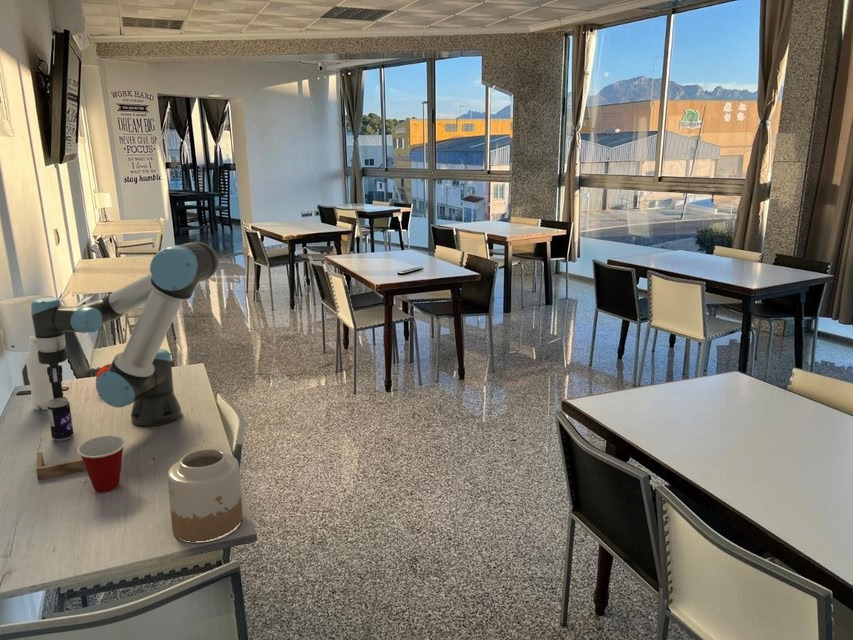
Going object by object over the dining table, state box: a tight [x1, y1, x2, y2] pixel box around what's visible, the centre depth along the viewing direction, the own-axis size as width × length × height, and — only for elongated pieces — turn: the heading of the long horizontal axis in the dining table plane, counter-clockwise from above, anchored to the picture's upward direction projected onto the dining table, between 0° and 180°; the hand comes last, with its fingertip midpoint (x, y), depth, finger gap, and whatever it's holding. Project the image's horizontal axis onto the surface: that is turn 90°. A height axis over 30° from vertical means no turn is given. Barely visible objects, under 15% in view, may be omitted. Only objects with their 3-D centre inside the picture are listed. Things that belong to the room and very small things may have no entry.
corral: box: [35, 451, 87, 481], centre depth 166 cm, size 12×11×3 cm
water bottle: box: [25, 335, 54, 411], centre depth 204 cm, size 7×7×25 cm
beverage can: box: [47, 397, 74, 441], centre depth 183 cm, size 6×6×12 cm
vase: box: [167, 448, 244, 542], centre depth 138 cm, size 15×15×17 cm
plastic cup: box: [76, 434, 126, 493], centre depth 154 cm, size 11×11×12 cm
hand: (61, 421), depth 190 cm, fingers closed
